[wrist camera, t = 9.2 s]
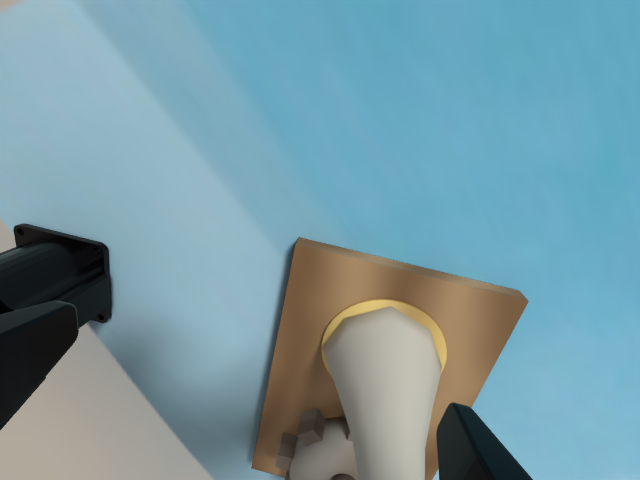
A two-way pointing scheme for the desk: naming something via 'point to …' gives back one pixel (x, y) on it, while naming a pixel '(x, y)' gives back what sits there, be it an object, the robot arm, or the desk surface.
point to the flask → (385, 390)
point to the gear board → (353, 299)
